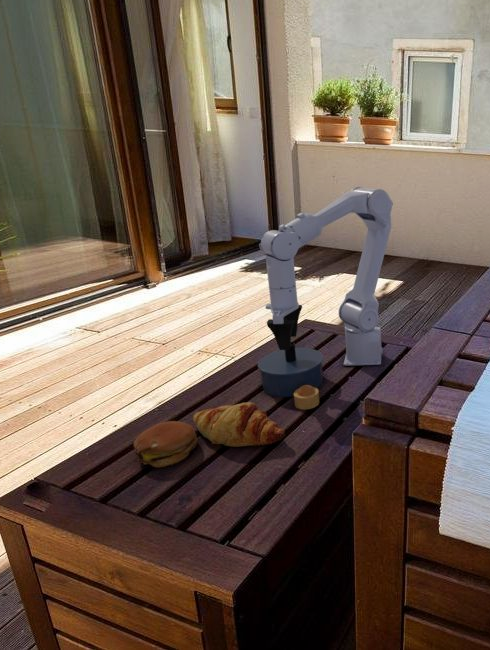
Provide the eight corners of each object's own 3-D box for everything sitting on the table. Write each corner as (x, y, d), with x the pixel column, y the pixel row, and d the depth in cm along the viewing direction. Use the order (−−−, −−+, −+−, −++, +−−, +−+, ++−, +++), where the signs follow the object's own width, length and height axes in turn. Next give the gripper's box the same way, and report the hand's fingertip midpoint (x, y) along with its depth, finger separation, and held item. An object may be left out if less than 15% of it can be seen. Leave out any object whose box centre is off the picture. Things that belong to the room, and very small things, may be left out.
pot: (326, 369, 118) (324, 349, 117) (317, 395, 106) (316, 374, 104) (271, 370, 117) (268, 350, 116) (255, 397, 105) (252, 376, 103)
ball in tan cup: (321, 397, 105) (319, 379, 104) (317, 409, 100) (316, 391, 99) (297, 397, 105) (295, 380, 103) (292, 410, 100) (290, 392, 98)
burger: (198, 432, 92) (194, 411, 90) (197, 460, 84) (193, 437, 82) (139, 445, 88) (134, 423, 86) (133, 475, 80) (127, 452, 78)
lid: (327, 350, 117) (325, 331, 116) (318, 377, 104) (316, 356, 102) (267, 352, 116) (265, 333, 115) (250, 379, 102) (247, 358, 101)
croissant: (187, 447, 93) (164, 426, 87) (216, 404, 99) (197, 382, 94) (279, 467, 86) (260, 446, 81) (303, 420, 93) (288, 397, 87)
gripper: (271, 277, 110) (277, 331, 114) (255, 295, 96) (262, 356, 101) (302, 276, 111) (307, 330, 115) (290, 295, 97) (295, 355, 101)
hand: (288, 342), depth 108 cm, fingers open, 7 cm apart
